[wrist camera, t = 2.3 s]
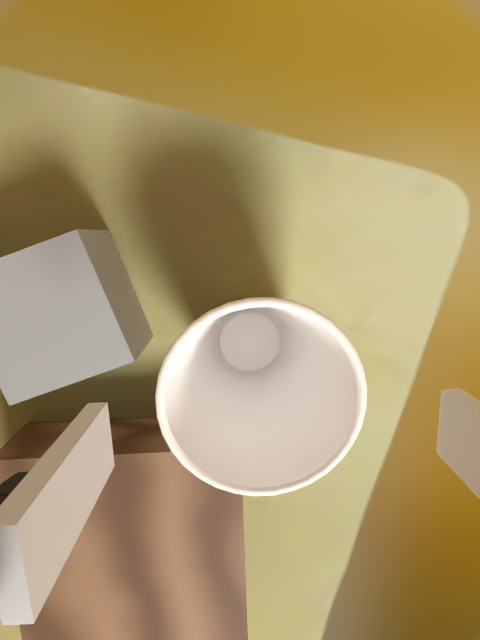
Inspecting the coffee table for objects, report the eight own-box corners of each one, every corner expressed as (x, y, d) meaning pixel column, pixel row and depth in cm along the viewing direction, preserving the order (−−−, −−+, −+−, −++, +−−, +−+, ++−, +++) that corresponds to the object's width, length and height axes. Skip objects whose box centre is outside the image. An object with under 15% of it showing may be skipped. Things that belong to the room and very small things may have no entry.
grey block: (53, 371, 29) (9, 405, 23) (3, 269, 28) (-58, 279, 22) (153, 335, 29) (134, 361, 23) (109, 229, 27) (76, 229, 21)
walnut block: (55, 597, 33) (26, 660, 28) (27, 423, 30) (-12, 460, 25) (245, 587, 34) (247, 647, 29) (238, 413, 30) (240, 448, 25)
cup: (294, 416, 30) (330, 516, 20) (167, 385, 30) (133, 472, 19) (334, 293, 28) (398, 329, 18) (200, 256, 28) (182, 271, 17)
